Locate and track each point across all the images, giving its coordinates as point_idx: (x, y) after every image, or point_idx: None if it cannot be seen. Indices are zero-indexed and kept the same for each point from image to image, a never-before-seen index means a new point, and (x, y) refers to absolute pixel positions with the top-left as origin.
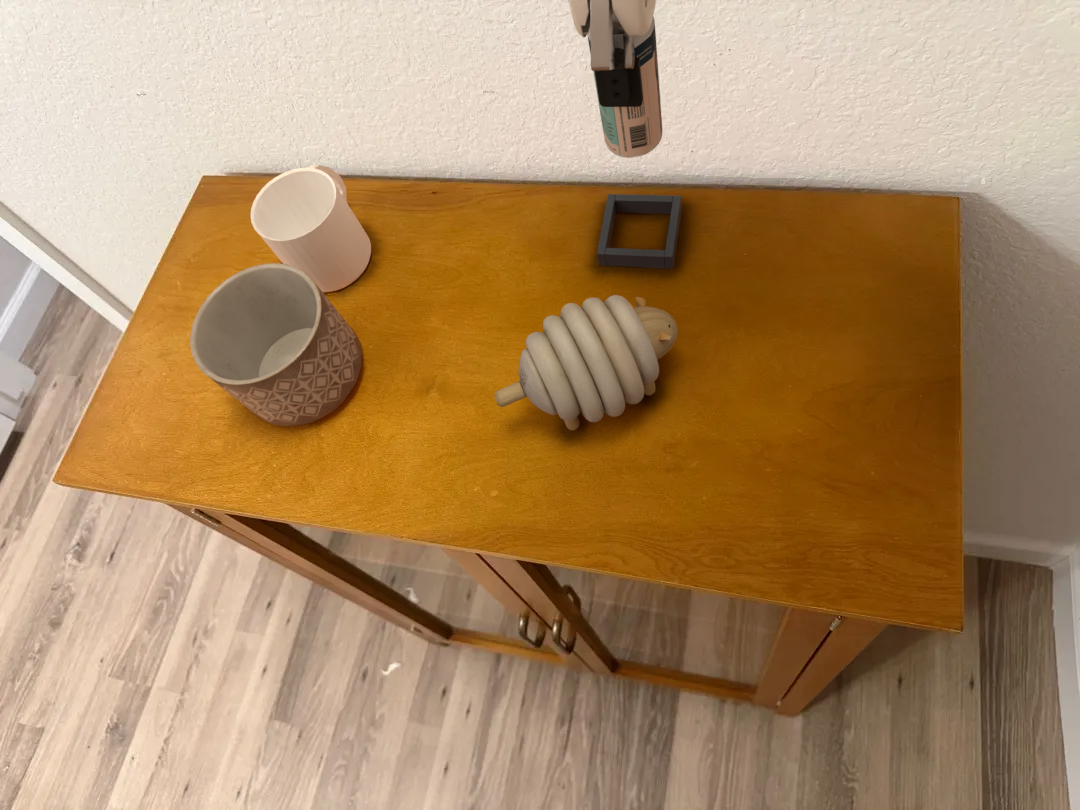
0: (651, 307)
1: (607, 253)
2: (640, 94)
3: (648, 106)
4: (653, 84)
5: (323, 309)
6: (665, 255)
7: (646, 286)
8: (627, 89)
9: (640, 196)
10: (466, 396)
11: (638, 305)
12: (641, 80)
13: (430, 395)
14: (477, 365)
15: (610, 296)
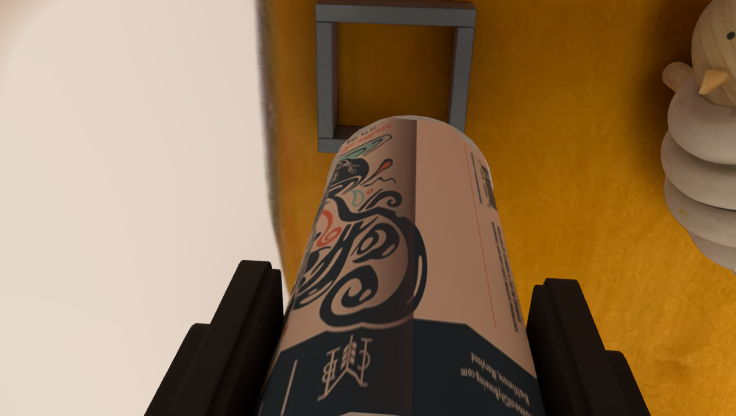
0: (732, 56)
1: None
2: (586, 313)
3: (480, 220)
4: (459, 242)
5: None
6: (472, 24)
7: (511, 52)
8: (642, 400)
9: (321, 89)
10: (702, 317)
11: (718, 85)
12: (571, 341)
13: (690, 363)
14: (646, 309)
15: (720, 154)
